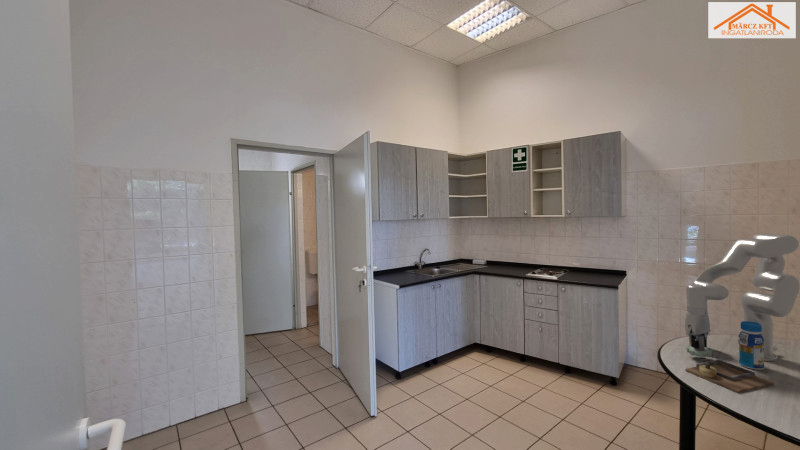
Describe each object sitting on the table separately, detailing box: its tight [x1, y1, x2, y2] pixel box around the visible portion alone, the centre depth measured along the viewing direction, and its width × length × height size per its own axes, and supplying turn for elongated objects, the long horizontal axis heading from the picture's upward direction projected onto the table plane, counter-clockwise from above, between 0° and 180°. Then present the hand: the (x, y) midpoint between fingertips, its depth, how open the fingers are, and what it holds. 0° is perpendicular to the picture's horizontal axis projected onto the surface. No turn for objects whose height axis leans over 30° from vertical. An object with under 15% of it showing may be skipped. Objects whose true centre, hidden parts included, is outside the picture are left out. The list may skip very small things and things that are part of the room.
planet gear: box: [686, 334, 713, 358], centre depth 165 cm, size 9×9×9 cm
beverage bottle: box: [737, 320, 765, 371], centre depth 156 cm, size 8×8×20 cm
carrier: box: [685, 359, 775, 394], centre depth 147 cm, size 20×20×6 cm
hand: (699, 346), depth 165 cm, fingers closed on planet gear, 4 cm apart
